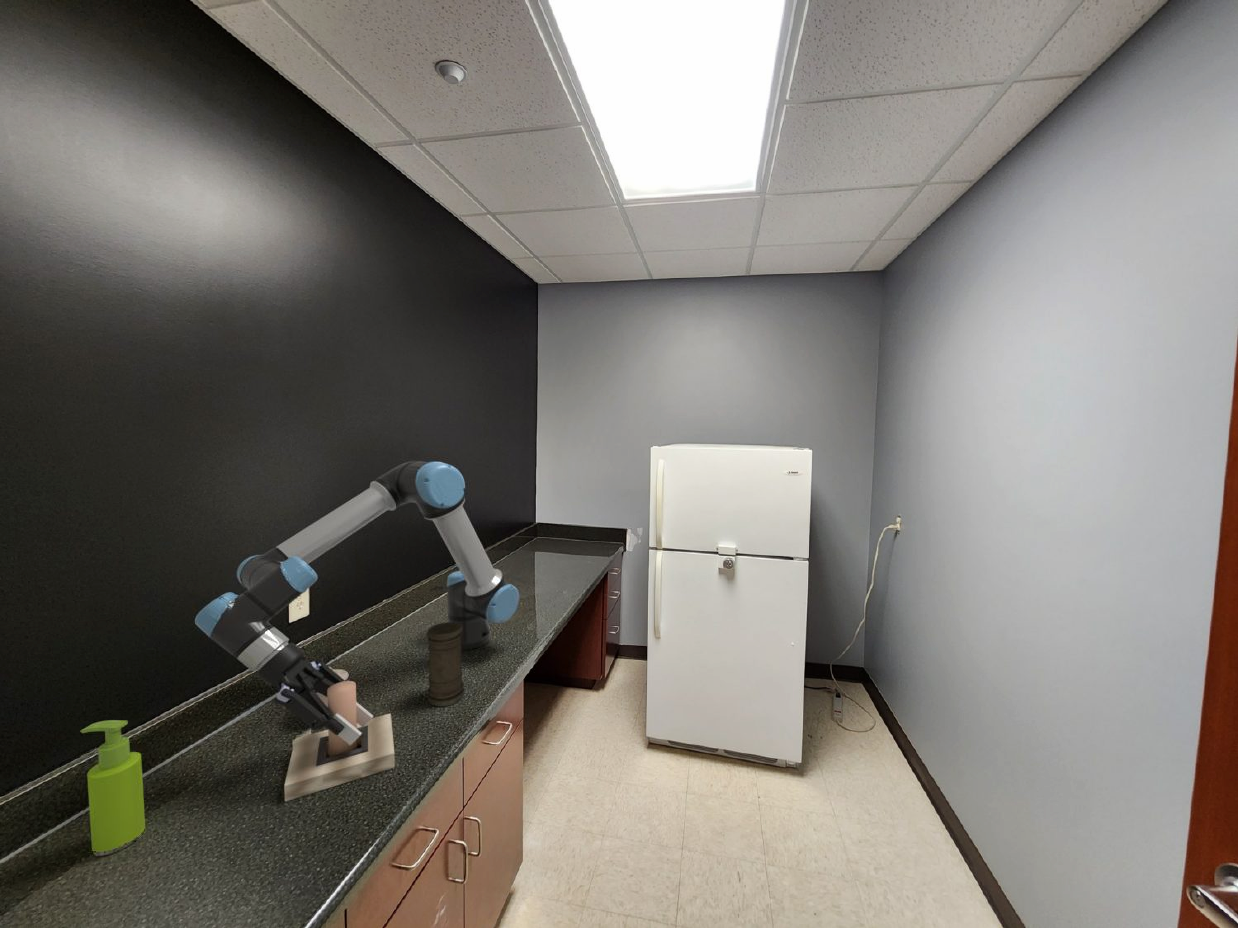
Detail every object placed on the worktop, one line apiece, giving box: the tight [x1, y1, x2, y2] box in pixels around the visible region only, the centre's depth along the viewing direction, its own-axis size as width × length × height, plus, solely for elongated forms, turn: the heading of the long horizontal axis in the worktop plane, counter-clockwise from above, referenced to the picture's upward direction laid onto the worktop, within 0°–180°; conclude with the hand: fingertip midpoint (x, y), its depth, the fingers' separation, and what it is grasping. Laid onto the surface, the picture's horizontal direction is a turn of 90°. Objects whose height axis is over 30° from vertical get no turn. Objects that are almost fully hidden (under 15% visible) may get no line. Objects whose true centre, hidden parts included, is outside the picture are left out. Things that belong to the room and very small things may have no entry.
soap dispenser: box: [80, 719, 146, 852], centre depth 74 cm, size 6×7×20 cm
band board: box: [284, 713, 396, 803], centre depth 94 cm, size 18×15×3 cm
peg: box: [327, 680, 358, 757], centre depth 93 cm, size 5×5×14 cm
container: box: [426, 621, 465, 707], centre depth 116 cm, size 9×9×18 cm
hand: (362, 729), depth 94 cm, fingers closed on peg, 5 cm apart
